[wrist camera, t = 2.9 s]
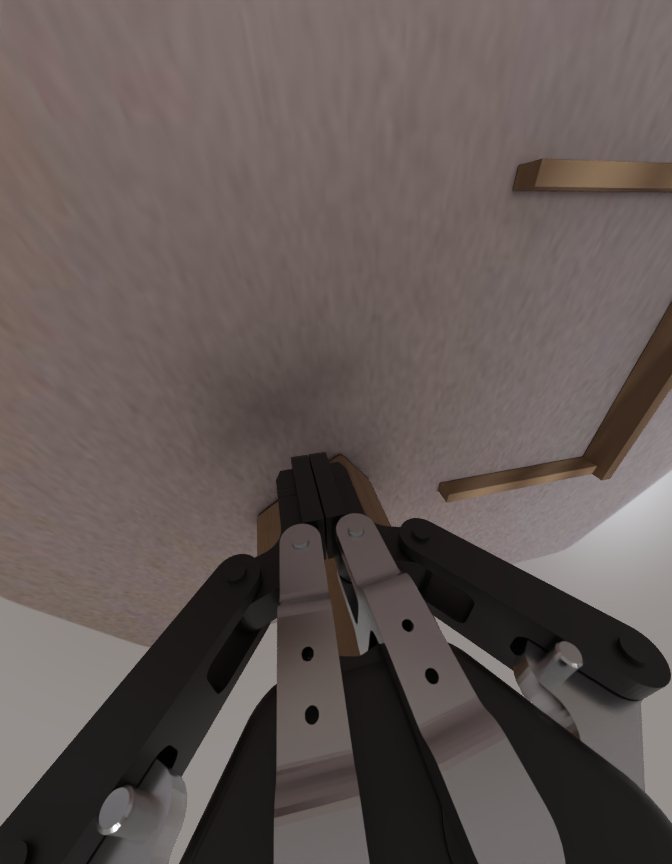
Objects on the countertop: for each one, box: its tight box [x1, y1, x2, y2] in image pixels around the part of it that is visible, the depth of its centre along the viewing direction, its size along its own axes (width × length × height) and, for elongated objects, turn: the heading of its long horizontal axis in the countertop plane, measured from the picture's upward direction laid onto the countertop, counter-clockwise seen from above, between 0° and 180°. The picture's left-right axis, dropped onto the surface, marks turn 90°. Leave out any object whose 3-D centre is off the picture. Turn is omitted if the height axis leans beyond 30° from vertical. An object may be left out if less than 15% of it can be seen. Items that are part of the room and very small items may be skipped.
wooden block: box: [257, 455, 439, 656], centre depth 17 cm, size 9×4×18 cm, turn 127°
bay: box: [438, 159, 672, 502], centre depth 22 cm, size 17×23×2 cm
